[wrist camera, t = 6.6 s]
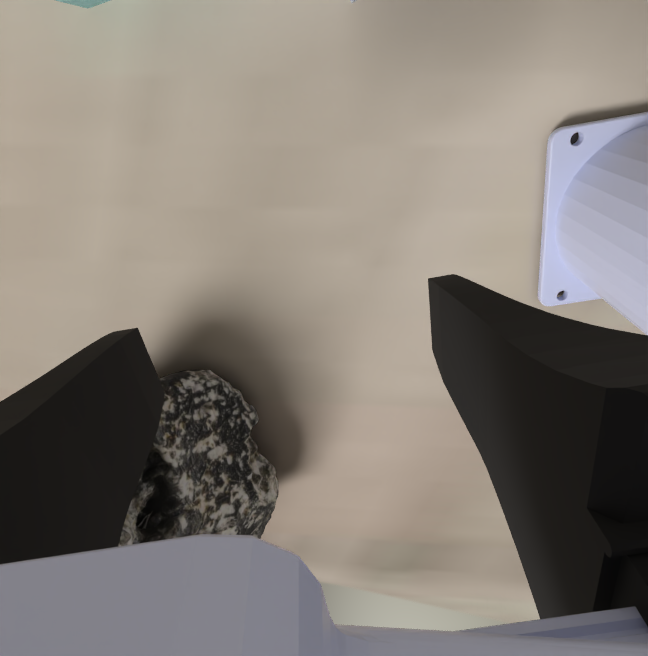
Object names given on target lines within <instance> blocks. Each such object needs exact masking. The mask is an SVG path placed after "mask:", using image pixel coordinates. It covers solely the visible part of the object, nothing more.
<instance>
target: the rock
mask: <svg viewBox="0 0 648 656" xmlns="http://www.w3.org/2000/svg"><path fill="white" fill-rule="evenodd" d="M159 380H160V383H161V385H162V387H163V390H164V392H165V397H164V402H163V408H162V414H161V418H160V423H159V427H158V430H157V433H156V436H155V439H154V442H153V444H152V447H151V450H150V453H149V455H148V458H147V461H146V463H145V466H144V469H143V471H142V474H141V477H140V479H139V482H138V485H137V487H136V490H135V493H134V495H133V498H132V501H131V503H130V506H129V509H128V512H127V515H126V519H125V522H124V525H123V529H122V533H121V537H120V541H119V545H118V547H119V546H126V545H133V544H139V543H146V542H153V541H159V540H166V539H173V538H180V537H186V536H193V535H200V534H218V535H252V536H254V537H257V538H259V539H260V538H261V535H262V534H263V532H264V529H265V526H266V524H267V523H268V521H269V520H270V518H271V514H272V512H273V511H274V508H275V504H276V500H277V497H278V481H277V478H276V476H275V474H276V470H275V468H274V466H273V465H272V464H271V463H270V462H269V461H268V460H267V459H266V458H265V457H264V456H262V455H261V454H259V453H258V451H257V445H256V443H255V442H254V440H253V439H252V438H251V437H250V433H251V429H252V427H253V426H254V425H255V424H257V423H258V421H259V419H258V415H257V411H256V410H255V408H254V407H253V406H252V405H250V404H248V403H247V402H245V401H244V399H243V397H242V394H241V392H240V391H239V390H237V389H234V388H232V386H231V385H230V383H229V382H227V381H224V380H223V379H222V378H221V377H219V376H217V375H215V374H214V373H213V372H212V371H211V370H193V371H188V370H187V371H182V372H178V373H174V374H170V375H168V376H165V377H162V378H160V379H159Z"/></svg>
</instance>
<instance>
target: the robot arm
mask: <svg viewBox="0 0 648 656" xmlns="http://www.w3.org/2000/svg"><path fill="white" fill-rule="evenodd" d="M576 132H578V134H579V138H578V140H577V142H576V143H574V144H572V145H571V143H570V139H571V136H572V135H573V134H574V133H576ZM428 285H429V301H430V318H431V334H432V350H433V353H434V356H435V359H436V362H437V365H438V368H439V371H440V374H441V377H442V379H443V382H444V384H445V386H446V388H447V390H448V392H449V394H450V396H451V398H452V400H453V402H454V404H455V406H456V408H457V410H458V412H459V414H460V415H461V417H462V419H463V421H464V423H465V425H466V427H467V429H468V431H469V433H470V435H471V437H472V439H473V440H474V442H475V444H476V446H477V448H478V450H479V452H480V454H481V457H482V459H483V461H484V463H485V465H486V467H487V470H488V473H489V475H490V478H491V480H492V483H493V486H494V488H495V491H496V493H497V496H498V499H499V501H500V504H501V507H502V509H503V512H504V515H505V518H506V520H507V523H508V526H509V529H510V531H511V534H512V537H513V540H514V542H515V545H516V548H517V551H518V554H519V557H520V560H521V563H522V566H523V569H524V571H525V574H526V577H527V580H528V583H529V586H530V589H531V592H532V595H533V598H534V601H535V604H536V607H537V610H538V613H539V616H540V619H539V620H532V621H525V622H517V623H510V624H503V625H496V626H488V627H481V628H474V629H466V630H459V631H436V630H420V629H419V630H418V629H404V628H386V627H370V626H354V625H337V624H334V623H333V621H332V619H331V617H330V615H329V611H328V608H327V604H326V601H325V597H324V594H323V590H322V586H321V584H320V583H319V581H318V580H317V579H316V578H315V576H314V575H313V574H312V573H311V571H310V570H309V569H308V567H307V566H306V565H305V564H304V562H303V561H302V560H301V558H300V557H299V556H297V555H296V554H294V553H293V552H291V551H289V550H286V549H284V548H281V547H279V546H276V545H274V544H271V543H269V542H266V541H264V540H261V539H259V538H257V537H254V536H252V535H218V534H200V535H193V536H186V537H180V538H173V539H166V540H159V541H153V542H146V543H139V544H133V545H126V546H119V547H118V545H119V541H120V537H121V533H122V529H123V525H124V522H125V519H126V515H127V512H128V509H129V506H130V503H131V501H132V498H133V495H134V493H135V490H136V487H137V485H138V482H139V479H140V477H141V474H142V471H143V469H144V466H145V463H146V461H147V458H148V455H149V453H150V450H151V447H152V444H153V442H154V439H155V436H156V433H157V430H158V427H159V423H160V418H161V414H162V408H163V402H164V397H165V392H164V390H163V387H162V385H161V383H160V380H159V378H158V375H157V373H156V371H155V368H154V366H153V364H152V361H151V359H150V356H149V354H148V352H147V349H146V347H145V344H144V342H143V340H142V337H141V335H140V332H139V330H138V328H134V329H128V330H122V331H116V332H112V333H110V334H108V335H106V336H104V337H102V338H100V339H99V340H97V341H95V342H94V343H92V344H90V345H89V346H87V347H86V348H84V349H82V350H81V351H79V352H78V353H76V354H75V355H73V356H72V357H70V358H69V359H67V360H66V361H64V362H63V363H61V364H60V365H58V366H57V367H55V368H54V369H52V370H51V371H49V372H48V373H46V374H44V375H43V376H41V377H40V378H38V379H36V380H35V381H33V382H32V383H30V384H28V385H27V386H25V387H24V388H22V389H20V390H19V391H17V392H16V393H14V394H12V395H11V396H9V397H8V398H6V399H4V400H3V401H1V402H0V656H648V112H643V113H638V114H632V115H626V116H621V117H615V118H609V119H604V120H598V121H592V122H587V123H581V124H575V125H570V126H564V127H560V128H557V129H555V130H554V131H553V132H552V133H551V135H550V136H549V139H548V145H547V160H546V176H545V191H544V207H543V222H542V238H541V253H540V269H539V284H538V299H539V301H540V302H541V303H542V304H543V305H545V306H555V305H562V304H568V303H575V302H581V301H588V300H594V299H601V298H602V299H603V300H605V301H606V302H607V303H608V304H609V305H611V306H612V307H613V308H614V309H616V310H617V311H618V312H619V313H620V314H622V315H623V316H624V317H625V318H627V319H628V320H629V321H630V322H631V323H633V324H634V325H635V326H636V327H638V328H639V329H640V330H641V331H643V332H644V333H645V334H646V335H641V334H635V333H630V332H625V331H619V330H614V329H608V328H604V327H599V326H595V325H590V324H587V323H583V322H579V321H575V320H572V319H568V318H564V317H561V316H558V315H554V314H551V313H548V312H545V311H542V310H540V309H537V308H534V307H531V306H529V305H526V304H523V303H521V302H518V301H516V300H513V299H511V298H508V297H506V296H504V295H501V294H499V293H497V292H494V291H492V290H490V289H488V288H486V287H483V286H481V285H479V284H477V283H475V282H472V281H470V280H468V279H465V278H463V277H461V276H458V275H454V274H452V275H446V276H440V277H434V278H429V279H428ZM560 291H564V293H563V295H562V296H560V297H557V294H558V293H559V292H560Z"/></svg>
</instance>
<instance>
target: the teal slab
mask: <svg viewBox="0 0 648 656" xmlns="http://www.w3.org/2000/svg"><path fill="white" fill-rule="evenodd" d="M56 1H60V2H64V3H68V4H72V5H76V6H80V7H84V8H91V7H93V6H96V5H99V4H102V3H105V2H107V1H110V0H56Z"/></svg>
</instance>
